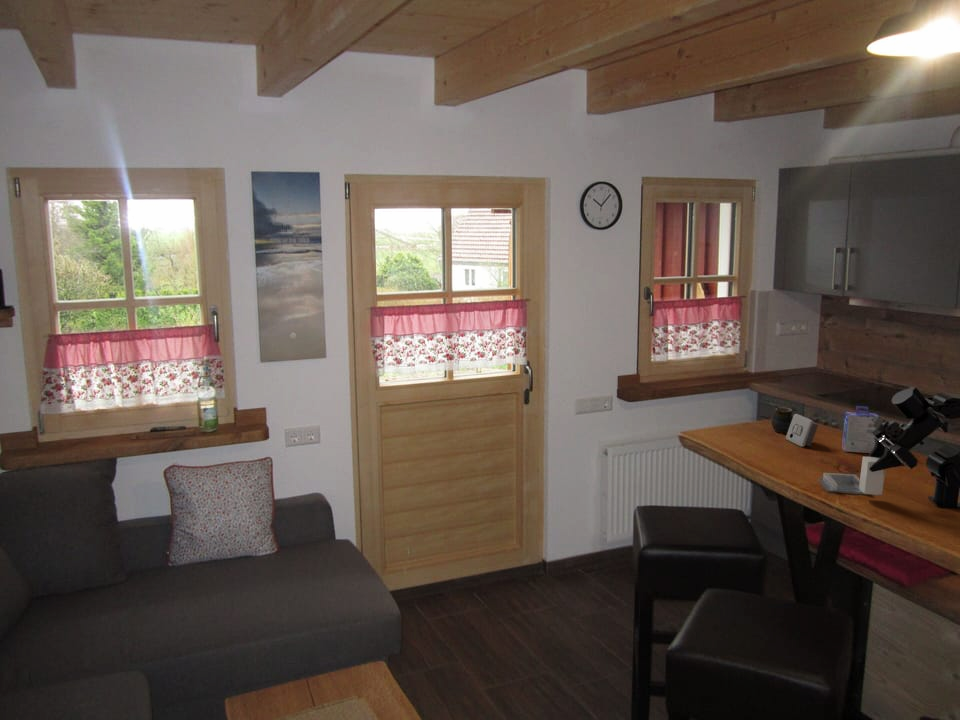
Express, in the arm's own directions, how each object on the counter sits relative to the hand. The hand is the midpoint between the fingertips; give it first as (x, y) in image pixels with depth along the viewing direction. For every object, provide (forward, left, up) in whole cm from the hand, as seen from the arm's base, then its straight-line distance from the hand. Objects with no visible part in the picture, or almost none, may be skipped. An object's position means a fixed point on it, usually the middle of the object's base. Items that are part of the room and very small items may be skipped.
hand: (867, 467), depth 211 cm
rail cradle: (+9, +3, -9) cm, 13 cm away
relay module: (0, -1, -7) cm, 7 cm away
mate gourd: (+64, +7, -9) cm, 65 cm away
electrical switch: (+51, +4, -9) cm, 52 cm away
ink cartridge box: (+46, -13, -9) cm, 49 cm away
